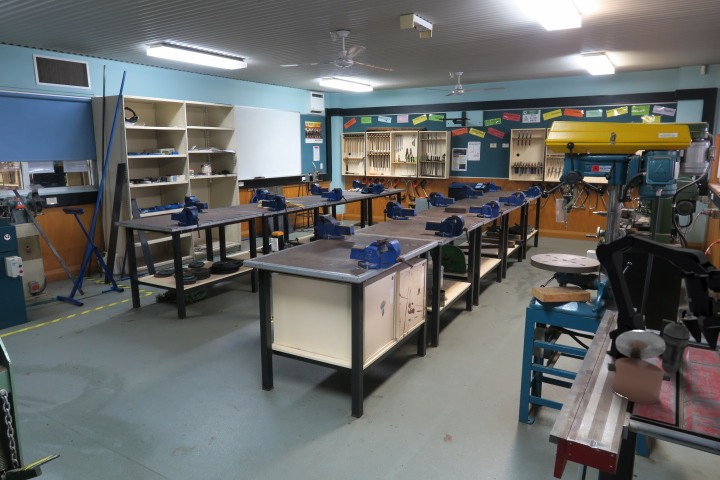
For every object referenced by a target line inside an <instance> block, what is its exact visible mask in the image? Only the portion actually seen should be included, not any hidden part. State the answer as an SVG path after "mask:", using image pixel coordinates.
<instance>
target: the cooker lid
mask: <svg viewBox="0 0 720 480" xmlns="http://www.w3.org/2000/svg"><path fill="white" fill-rule="evenodd" d="M616 348H617V349H618V351H619V352H620V353H622V354H624V355H626V356H628V357H631V358H636V359H641V360H649V359H652V358H653V359H654V358H656V357H657V358H658V357H660V356H659V355H661V354H662V353H663V352H664V351H665V348H666V346H665V341H664V339H663V338H662V337H661V336H659V333H656V332H655V331H649V330H646V329H645V330H637V329H634V330H632V331H627V332H624V333H622V334H621V335H619V336H618V337H617V339H616Z"/></svg>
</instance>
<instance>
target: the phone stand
mask: <svg viewBox="0 0 720 480" xmlns="http://www.w3.org/2000/svg"><path fill="white" fill-rule="evenodd" d="M673 322H677V321H676V320H672V319H667V318H663V319H662V321H661V324H660V329H659V330H660V331H659V333H658V335H659V336H661V337H662V338H663V331H664V328H665V327H666V326H667V325H668V324H670V323H673ZM680 323H681V324H683V325H684V323H683V322H682V321H680ZM658 357H661V358H662V354H661V355H659V356H658Z"/></svg>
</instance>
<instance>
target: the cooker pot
mask: <svg viewBox="0 0 720 480" xmlns="http://www.w3.org/2000/svg"><path fill="white" fill-rule="evenodd" d="M606 367H607V368H606V369H607V371H608V372H613V375H612V381H611V387H612V388H611V390H612V389H613V390H614V391H615V392H616V393H618V394H620V395H622V396H624V397H627V398H628V400H627V401H628V402H633V403H634V404H635V403H636V404H641V405H654V404H657V403H658V402H659V401H660V396H661V390H662V386H663V381H665V382H670V383H671V379H672V376H671V375H670V373H667V372H664V369H663V368H662V367H661V368H660V367H659V366H658V365H656V364H653V363H652V362H649V361H646V360H644V359H636V358H631V357H629V358H620V359H617V358H616V360H615V363H607V366H606ZM613 390H612V391H613ZM616 393H615V394H616Z"/></svg>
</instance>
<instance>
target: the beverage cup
mask: <svg viewBox="0 0 720 480" xmlns="http://www.w3.org/2000/svg"><path fill="white" fill-rule="evenodd" d="M680 322H681V318H678V320H677V321H676V322H673V323H670V324H668V325H667V326H666V327H665V328H664V331H663V339H664V341H665V346H666V348H665V351H664V352H663V353H662V357H661V369H662V370H665V371H668V372H674V373H675V372H679V368H680V367H681V363H682V360H683V358H684V353H685V349H686V348H687V345H688V344H689V341H690V340H691V339H690V332H689V331H688V329H687V328H686V326H685V325H683V324H681V323H682V322H681V323H680Z"/></svg>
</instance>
